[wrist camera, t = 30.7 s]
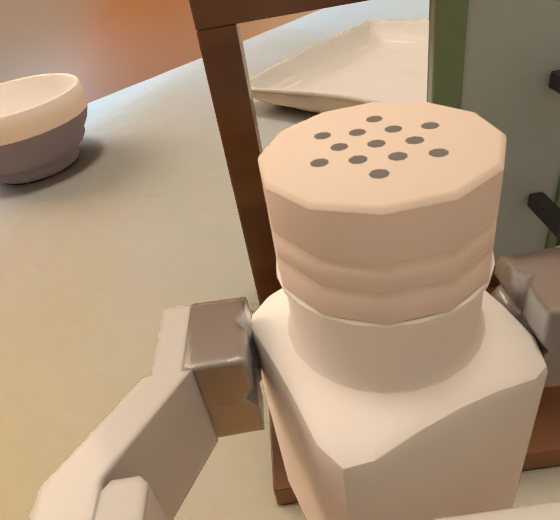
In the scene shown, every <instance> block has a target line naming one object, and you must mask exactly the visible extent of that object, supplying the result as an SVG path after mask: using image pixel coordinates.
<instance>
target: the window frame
mask: <svg viewBox="0 0 560 520" xmlns="http://www.w3.org/2000/svg"><path fill="white" fill-rule="evenodd" d="M362 1H367V0H189V2H190V7H191V11H192V15H193V20H194V24H195V28H196V30H197V37H198V41H199V45H200V50H201V54H202V58H203V62H204V67H205V71H206V75H207V80H208V84H209V88H210V93H211V97H212V101H213V105H214V110H215V114H216V118H217V123H218V127H219V131H220V135H221V140H222V144H223V148H224V153H225V157H226V161H227V166H228V170H229V174H230V178H231V183H232V187H233V191H234V196H235V200H236V204H237V209H238V213H239V217H240V221H241V226H242V230H243V234H244V239H245V243H246V247H247V251H248V256H249V260H250V264H251V269H252V273H253V277H254V282H255V286H256V290H257V294H258V299H259V303H260V306H261V305H262V304H263V302H264V301H265V300H266V299H267V298H268V297H269V296H270V295H272V294H273V293H275V292H277V291H278V290H280V289H282V286H281V284H280V282H279V280H278V278H277V272H276V253H275V248H274V242H273V237H272V231H271V226H270V221H269V216H268V211H267V205H266V200H265V195H264V190H263V185H262V179H261V174H260V169H259V164H258V157H259V155H260V154H261V153H262V146H261V141H260V135H259V130H258V124H257V119H256V113H255V108H254V102H253V97H252V91H251V86H250V80H249V75H248V69H247V64H246V59H245V53H244V48H243V42H242V37H241V31H240V26H239V23H243V22H249V21H254V20H260V19H266V18H271V17H277V16H283V15H288V14H294V13H299V12H305V11H311V10H316V9H322V8H328V7H333V6H339V5H345V4H350V3H356V2H362ZM494 272H495V266H494V270H493V273H492V276H491V279H490V282H489V285H488V287H487V288H486V290H485V291H487V292H488V293H489V294H490V295H491V293H492V292H493V291H494V290H495V289H496V288H497V287H498V285H499V284H500V282H499V281H498V279H497V278H496V276H495V275H494ZM269 418H270V435H271V453H272V471H273V488H274V493H275V496H276V499H277V503H278V505H281V504H288V503H295V502H298V500H297V498H296V496H295V494H294V492H293V490H292V487H291V485H290V483H289V481H288V477H287V474H286V470H285V466H284V462H283V458H282V454H281V451H280V447H279V443H278V439H277V435H276V431H275V427H274V424H273V420H272V416H271V412H270V408H269ZM556 465H560V386H552V387H544V388H543V392H542V396H541V400H540V403H539V407H538V411H537V415H536V419H535V422H534V426H533V430H532V434H531V438H530V441H529V445H528V449H527V453H526V457H525V460H524V464H523V468H522V470H528V469H535V468H542V467H549V466H556Z"/></svg>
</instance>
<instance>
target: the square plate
mask: <svg viewBox="0 0 560 520" xmlns="http://www.w3.org/2000/svg"><path fill="white" fill-rule="evenodd" d="M428 38H429V19H411V20H372V21H368V22H365V23H363V24H361V25H359V26H357V27H354V28H352V29H350V30H348V31H345V32H343V33H341V34H338V35H336V36H334V37H331V38H329V39H327V40H325V41H323V42H320V43H318V44H316V45H314V46H312V47H310V48H308V49H306V50H304V51H302V52H300V53H298V54H296V55H294V56H292V57H290V58H288V59H286V60H284V61H282V62H280V63H278V64H276V65H274V66H272V67H270V68H269V69H267V70H265V71H263V72H261V73H259V74H257V75H255V76H253V77H252V78H250V79H249V80H250V86H251V91H252V97H253V98H255V99H257V100H260V101H263V102H266V103H270V104H276V105H281V106H287V107H294V108H296V109H300V110H305V111H309V112H314V113H319V114H320V113H322V112H326V111H331V110H336V109H341V108H346V107H351V106H356V105H361V104H366V103H371V102H427V72H428Z"/></svg>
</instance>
